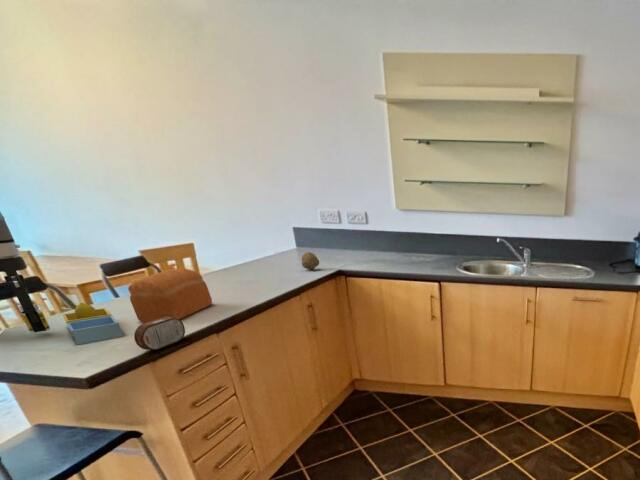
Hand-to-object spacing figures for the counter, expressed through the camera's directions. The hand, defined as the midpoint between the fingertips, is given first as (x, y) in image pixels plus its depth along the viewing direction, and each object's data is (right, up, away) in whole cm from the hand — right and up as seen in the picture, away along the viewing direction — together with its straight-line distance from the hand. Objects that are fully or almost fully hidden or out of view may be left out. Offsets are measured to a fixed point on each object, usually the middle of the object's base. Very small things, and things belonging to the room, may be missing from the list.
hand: (39, 329), depth 137 cm
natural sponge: (+41, +47, +101) cm, 119 cm away
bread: (+26, +10, +25) cm, 37 cm away
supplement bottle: (0, 0, 0) cm, 1 cm away
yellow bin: (+8, +2, +9) cm, 12 cm away
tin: (+47, -6, -5) cm, 47 cm away
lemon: (+8, +2, +9) cm, 12 cm away
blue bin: (+18, -2, +1) cm, 19 cm away
